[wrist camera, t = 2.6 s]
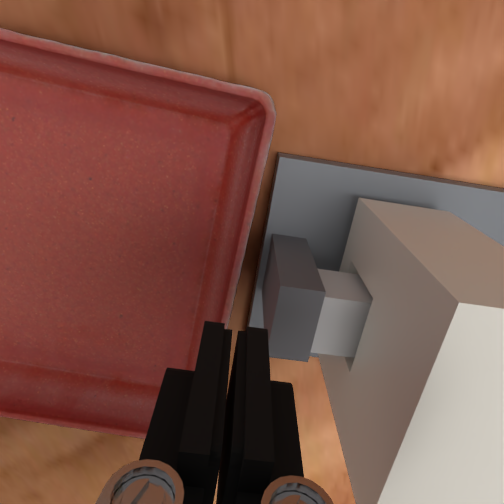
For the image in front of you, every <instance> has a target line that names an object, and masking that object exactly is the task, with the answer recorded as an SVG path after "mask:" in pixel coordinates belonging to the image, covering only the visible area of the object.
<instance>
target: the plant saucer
mask: <svg viewBox="0 0 504 504" xmlns="http://www.w3.org/2000/svg"><path fill="white" fill-rule="evenodd" d="M275 120H276V110H275V106H274V102H273V100H272V98H271V96H270V95H269V94H268V93H266V92H264V91H262V90H259V89H255V88H252V87H248V86H244V85H239V84H234V83H229V82H225V81H221V80H217V79H213V78H209V77H205V76H201V75H196V74H192V73H187V72H183V71H178V70H174V69H170V68H166V67H161V66H157V65H153V64H148V63H144V62H140V61H135V60H131V59H127V58H123V57H120V56H117V55H113V54H108V53H103V52H99V51H94V50H88V49H84V48H80V47H76V46H72V45H68V44H63V43H60V42H56V41H52V40H47V39H43V38H38V37H34V36H29V35H25V34H21V33H17V32H14V31H11V30H7V29H3V28H0V417H7V418H13V419H19V420H25V421H32V422H37V423H45V424H50V425H57V426H61V427H70V428H77V429H83V430H89V431H96V432H103V433H109V434H116V435H120V436H129V437H136V438H142V439H145V438H146V435H147V431H148V428H149V425H150V421H151V418H152V415H153V411H154V408H155V404H156V401H157V398H158V394H159V391H160V388H161V384H162V381H163V377H164V374H165V371H166V369H167V367H168V368H175V369H183V370H191V371H195V367H196V362H197V357H198V352H199V347H200V342H201V337H202V331H203V326H204V322H205V321H212V322H219V323H225V327H224V329H228V324H229V320H230V316H231V312H232V307H233V302H234V298H235V294H236V290H237V285H238V281H239V277H240V273H241V268H242V263H243V259H244V255H245V251H246V246H247V241H248V237H249V233H250V229H251V224H252V221H253V217H254V213H255V208H256V202H257V198H258V195H259V192H260V187H261V182H262V177H263V173H264V169H265V166H266V162H267V158H268V154H269V148H270V144H271V140H272V136H273V131H274V126H275Z"/></svg>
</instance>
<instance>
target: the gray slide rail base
mask: <svg viewBox="0 0 504 504" xmlns="http://www.w3.org/2000/svg"><path fill="white" fill-rule="evenodd" d="M359 198H365V199H371V200H378V201H384V202H391V203H397V204H403V205H410V206H416V207H423V208H429V209H436V210H442V211H449V212H451V213H452V214H454V215H455V216H457V217H459V218H460V219H462V220H463V221H465V222H466V223H468V224H469V225H471V226H473V227H474V228H476V229H477V230H479V231H480V232H482V233H483V234H485V235H487V236H488V237H490V238H491V239H493V240H494V241H496V242H497V243H499V244H501V245H502V246H504V188H498V187H491V186H485V185H479V184H473V183H466V182H460V181H454V180H448V179H441V178H435V177H429V176H423V175H416V174H410V173H404V172H398V171H391V170H385V169H379V168H373V167H366V166H360V165H354V164H348V163H342V162H335V161H329V160H323V159H317V158H310V157H304V156H298V155H292V154H285V153H279V152H278V155H277V160H276V166H275V171H274V177H273V182H272V188H271V194H270V199H269V205H268V210H267V216H266V221H265V227H264V233H263V238H262V244H261V249H260V255H259V260H258V266H257V272H256V277H255V283H254V288H253V294H252V299H251V305H250V310H249V316H248V322H247V326H249V327H256V328H264V329H267V330H268V344H269V357H272V358H280V359H288V360H296V361H304V362H308V359H309V356H312V357H318V353H320V354H328V355H335V356H343V357H351V358H355V355H356V352H357V348H358V345H359V342H360V339H361V336H362V332H363V329H364V326H365V323H366V320H367V316H368V313H369V310H370V307H371V303H372V300H373V298H372V296H371V294H370V292H369V291H368V289H367V287H366V285H365V284H364V282H363V280H362V278H361V277H360V275H359V274H352V273H345V272H339V270H340V266H341V262H342V259H343V255H344V251H345V247H346V244H347V240H348V236H349V232H350V229H351V225H352V221H353V217H354V214H355V210H356V206H357V202H358V199H359ZM246 328H247V327H246Z"/></svg>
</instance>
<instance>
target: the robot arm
mask: <svg viewBox="0 0 504 504" xmlns="http://www.w3.org/2000/svg"><path fill="white" fill-rule="evenodd" d="M224 327H225V323H219V322H212V321H205V322H204V326H203V331H202V337H201V342H200V347H199V352H198V357H197V362H196V367H195V371H191V370H183V369H175V368H168V367H167V369H166V371H165V374H164V377H163V381H162V384H161V388H160V391H159V394H158V398H157V401H156V404H155V408H154V411H153V415H152V418H151V421H150V425H149V428H148V431H147V435H146V438H145V442H144V445H143V448H142V452H141V455H140V459H139V461H134V462H132V463H130V464H127V465H125V466H123V467H122V468H120V469H119V470H118V471H117V472H115V473H114V474H113V475H112V476H111V478H110V479H109V481H108V482H107V483H106V485H105V487H104V488H103V490H102V492H101V494H100V496H99V498H98V500H97V502H96V503H95V504H213V501H214V495H215V489H216V484H217V478H218V473H219V478H218V489H217V501H216V504H333V502H332V500H331V498H330V497H329V496H328V494H327V493H326V492H325V491H324V490H323V488H321V487H320V486H319V485H317V484H316V483H314V482H313V481H311V480H309V479H306V478H304V474H303V466H302V458H301V450H300V441H299V433H298V425H297V417H296V409H295V401H294V392H293V386H292V384H291V383H286V382H278V381H271V380H270V363H269V344H268V330H267V329H264V328H256V327H249V326H247V328H246V332H245V331H238V335H237V341H236V347H235V353H234V359H233V365H232V370H231V376H230V382H229V388H228V394H227V386H228V374H229V362H230V350H231V338H232V330H230V329H224ZM226 397H227V400H226Z"/></svg>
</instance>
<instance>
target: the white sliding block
mask: <svg viewBox="0 0 504 504" xmlns="http://www.w3.org/2000/svg"><path fill="white" fill-rule="evenodd" d="M339 272H345V273H352V274H359V275H360V277H361V278H362V280H363V282H364V284H365V285H366V287H367V289H368V291H369V292H370V294H371V296H372V298H373V300H372V303H371V307H370V310H369V313H368V316H367V320H366V323H365V326H364V329H363V332H362V336H361V339H360V342H359V345H358V348H357V352H356V355H355V358H351V357H343V356H335V355H328V354H320V353H318V357H319V361H320V365H321V369H322V372H323V376H324V380H325V384H326V388H327V392H328V396H329V400H330V404H331V408H332V412H333V416H334V420H335V424H336V427H337V431H338V435H339V439H340V443H341V447H342V451H343V455H344V459H345V463H346V467H347V471H348V475H349V478H350V482H351V486H352V490H353V494H354V498H355V502H356V504H504V246H502V245H501V244H499V243H497V242H496V241H494V240H493V239H491V238H490V237H488V236H487V235H485V234H483V233H482V232H480V231H479V230H477V229H476V228H474V227H473V226H471V225H469V224H468V223H466V222H465V221H463V220H462V219H460V218H459V217H457V216H455V215H454V214H452V213H451V212H449V211H442V210H436V209H429V208H423V207H416V206H410V205H403V204H397V203H391V202H384V201H378V200H371V199H365V198H359V199H358V202H357V206H356V210H355V214H354V217H353V221H352V225H351V229H350V232H349V236H348V240H347V244H346V247H345V251H344V255H343V259H342V262H341V266H340V270H339Z"/></svg>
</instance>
